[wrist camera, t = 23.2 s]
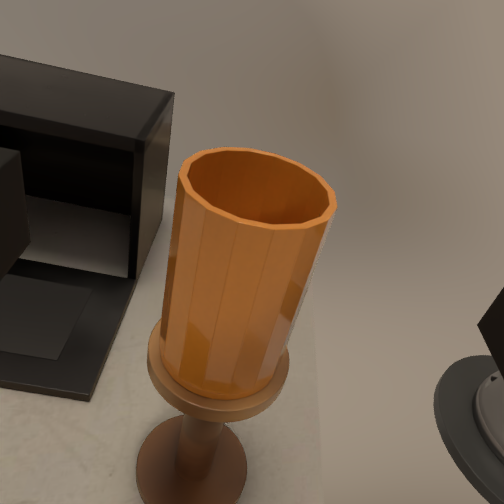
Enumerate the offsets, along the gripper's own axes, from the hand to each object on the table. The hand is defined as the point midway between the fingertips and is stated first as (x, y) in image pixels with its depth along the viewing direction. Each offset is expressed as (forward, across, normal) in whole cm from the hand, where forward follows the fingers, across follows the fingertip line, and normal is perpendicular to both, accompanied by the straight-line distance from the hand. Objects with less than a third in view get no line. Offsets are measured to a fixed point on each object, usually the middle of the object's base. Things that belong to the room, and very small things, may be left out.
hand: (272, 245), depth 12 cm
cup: (+10, 0, -15) cm, 18 cm away
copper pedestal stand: (+10, 0, -30) cm, 32 cm away
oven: (+30, -23, -30) cm, 48 cm away
